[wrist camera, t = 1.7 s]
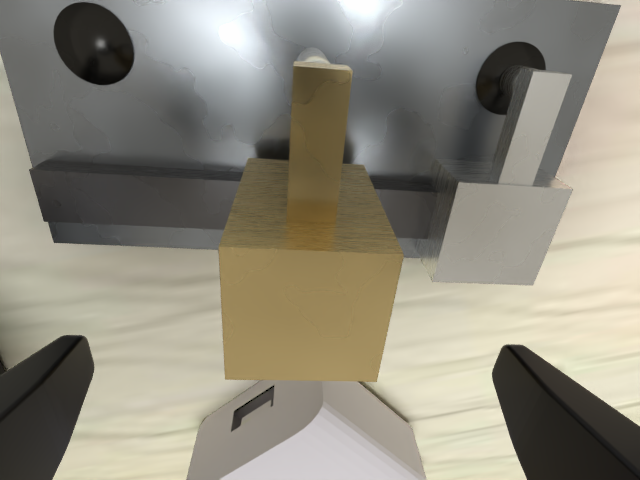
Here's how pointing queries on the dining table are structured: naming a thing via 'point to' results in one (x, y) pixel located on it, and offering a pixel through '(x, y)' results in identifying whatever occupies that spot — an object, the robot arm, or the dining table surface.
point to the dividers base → (275, 115)
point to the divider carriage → (308, 250)
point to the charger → (305, 436)
